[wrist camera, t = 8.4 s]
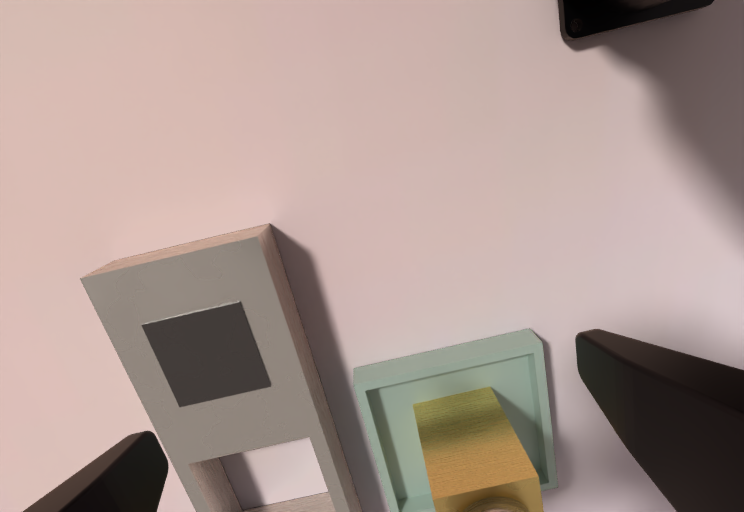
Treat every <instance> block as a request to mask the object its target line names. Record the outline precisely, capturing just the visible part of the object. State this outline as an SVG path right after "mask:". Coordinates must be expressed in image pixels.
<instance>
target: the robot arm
mask: <svg viewBox="0 0 744 512" xmlns="http://www.w3.org/2000/svg"><path fill="white" fill-rule="evenodd" d="M713 1H714V0H558V7H559V20H560V32H561V35H562V37H563V38H564V39H566V40H568V41H570V40H576V39H580V38H584V37H588V36H592V35H597V34H601V33H605V32H609V31H613V30H617V29H621V28H625V27H629V26H633V25H637V24H641V23H645V22H649V21H653V20H657V19H661V18H665V17H669V16H673V15H677V14H681V13H685V12H690V11H694V10H698V9H700V8H703V7H706V6H708V5H710V4H711V3H712V2H713ZM572 21H574V22H576V23H577V26H578V27H577V31H576V32H573V31H572V30H571V23H572ZM575 342H576V354H577V366H578V371H579V374H580V377H581V379H582V380H583V382H584V384H585V385H586V387H587V388H588V390H589V391H590V393H591V394H592V396H593V397H594V399H595V401H596V402H597V404H598V405H599V407H600V408H601V410H602V411H603V413H604V415H605V416H606V418H607V419H608V421H609V422H610V424H611V425H612V427H613V428H614V430H615V432H616V433H617V435H618V436H619V438H620V439H621V441H622V442H623V443H624V445H625V446H626V448H627V449H628V450H629V452H630V453H631V454H632V456H633V457H634V458H635V460H636V461H637V462H638V463H639V465H640V466H641V467H642V468H643V470H644V471H645V472H646V473H647V475H648V476H649V477H650V478H651V480H652V481H653V482H654V483H655V485H656V486H657V487H658V488H659V490H660V491H661V492H662V493H663V495H664V496H665V497H666V498H667V500H668V501H669V502H670V503H671V505H672V506H673V507H674V508H675V510H676V511H677V512H744V370H741V369H738V368H734V367H731V366H727V365H724V364H720V363H716V362H713V361H709V360H706V359H702V358H699V357H695V356H692V355H688V354H685V353H681V352H678V351H674V350H671V349H667V348H664V347H660V346H657V345H653V344H650V343H646V342H642V341H639V340H635V339H632V338H628V337H625V336H621V335H618V334H614V333H611V332H607V331H604V330H600V329H593V330H588V331H584V332H580V333H578V334H577V335H576V339H575ZM167 474H168V460H167V458H166V456H165V454H164V452H163V450H162V448H161V446H160V444H159V442H158V440H157V438H156V436H155V434H154V433H152V432H151V431H144V432H140V433H135V434H131V435H129V436H127V437H126V438H124V439H123V440H122V441H120V442H119V443H117V444H116V445H115V446H113V447H112V448H110V449H109V450H108V451H106V452H105V453H103V454H102V455H101V456H99V457H98V458H96V459H95V460H94V461H92V462H91V463H90V464H88V465H87V466H85V467H84V468H83V469H81V470H80V471H78V472H77V473H76V474H74V475H73V476H71V477H70V478H69V479H67V480H66V481H65V482H63V483H62V484H60V485H59V486H58V487H56V488H55V489H53V490H52V491H51V492H49V493H48V494H46V495H45V496H44V497H42V498H41V499H39V500H38V501H37V502H35V503H34V504H33V505H31V506H30V507H28V508H27V509H26V510H24V511H23V512H157V508H158V505H159V502H160V498H161V495H162V491H163V488H164V484H165V481H166V477H167Z"/></svg>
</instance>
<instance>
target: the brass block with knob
mask: <svg viewBox="0 0 744 512" xmlns="http://www.w3.org/2000/svg"><path fill="white" fill-rule="evenodd" d="M412 405H413V410H414V414H415V419H416V424H417V428H418V433H419V438H420V442H421V447H422V452H423V457H424V461H425V466H426V471H427V475H428V480H429V485H430V489H431V494H432V499H433V503H434V507H435V511H436V512H544V511H543V504H542V496H541V489H540V482H539V476H538V474H537V472H536V470H535V468H534V467H533V465H532V463H531V461H530V459H529V457H528V455H527V454H526V452H525V450H524V448H523V446H522V444H521V442H520V441H519V439H518V437H517V435H516V433H515V431H514V429H513V428H512V426H511V424H510V422H509V420H508V418H507V416H506V415H505V413H504V411H503V409H502V407H501V405H500V403H499V402H498V400H497V398H496V396H495V394H494V392H493V390H492V389H491V387H485V388H481V389H477V390H472V391H468V392H464V393H459V394H455V395H451V396H446V397H442V398H438V399H433V400H429V401H425V402H420V403H416V404H412Z"/></svg>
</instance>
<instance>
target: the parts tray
mask: <svg viewBox="0 0 744 512" xmlns="http://www.w3.org/2000/svg"><path fill="white" fill-rule="evenodd" d="M353 385H354V389H355V392H356V395H357V399H358V402H359V406H360V409H361V413H362V416H363V419H364V423H365V426H366V430H367V433H368V437H369V440H370V443H371V447H372V450H373V454H374V457H375V461H376V464H377V467H378V471H379V474H380V478H381V481H382V485H383V488H384V492H385V495H386V498H387V502H388V505H389V509H390V512H436V511H435V507H434V503H433V499H432V494H431V489H430V485H429V480H428V475H427V471H426V466H425V461H424V457H423V452H422V447H421V442H420V438H419V433H418V428H417V424H416V419H415V414H414V410H413V405H412V404H416V403H420V402H425V401H429V400H433V399H438V398H442V397H446V396H451V395H455V394H459V393H464V392H468V391H472V390H477V389H481V388H485V387H491V389H492V390H493V392H494V394H495V396H496V398H497V400H498V402H499V403H500V405H501V407H502V409H503V411H504V413H505V415H506V416H507V418H508V420H509V422H510V424H511V426H512V428H513V429H514V431H515V433H516V435H517V437H518V439H519V441H520V442H521V444H522V446H523V448H524V450H525V452H526V454H527V455H528V457H529V459H530V461H531V463H532V465H533V467H534V468H535V470H536V472H537V474H538V476H539V482H540V489H541V491H544V490H549V489H554V488H558V481H557V472H556V463H555V454H554V445H553V435H552V426H551V417H550V408H549V399H548V389H547V380H546V371H545V362H544V353H543V344H542V341H541V340H540V339H539V338H538V337H537V336H536V335H535V334H534V333H533V332H532V330H531V329H525V330H521V331H517V332H512V333H508V334H503V335H499V336H495V337H490V338H486V339H481V340H477V341H473V342H468V343H464V344H459V345H455V346H450V347H446V348H442V349H437V350H433V351H428V352H424V353H420V354H415V355H411V356H406V357H402V358H398V359H393V360H389V361H384V362H380V363H375V364H371V365H367V366H362V367H358V368H354V382H353Z"/></svg>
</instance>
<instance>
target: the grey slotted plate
mask: <svg viewBox="0 0 744 512" xmlns="http://www.w3.org/2000/svg"><path fill="white" fill-rule="evenodd" d="M80 280H81V282H82V284H83V286H84V288H85V290H86V292H87V294H88V296H89V298H90V300H91V302H92V304H93V306H94V308H95V310H96V312H97V314H98V316H99V318H100V320H101V322H102V324H103V326H104V328H105V330H106V332H107V334H108V336H109V338H110V340H111V342H112V344H113V346H114V348H115V350H116V352H117V354H118V356H119V358H120V360H121V362H122V364H123V366H124V368H125V370H126V372H127V374H128V376H129V378H130V380H131V382H132V384H133V386H134V388H135V390H136V392H137V394H138V396H139V398H140V400H141V402H142V404H143V406H144V408H145V410H146V412H147V414H148V416H149V418H150V420H151V422H152V424H153V426H154V428H155V430H156V432H157V434H158V436H159V438H160V440H161V442H162V444H163V446H164V448H165V450H166V452H167V454H168V456H169V458H170V460H171V462H172V464H173V466H174V468H175V470H176V472H177V474H178V476H179V478H180V480H181V482H182V484H183V486H184V488H185V490H186V492H187V494H188V496H189V498H190V500H191V502H192V504H193V506H194V508H195V510H196V512H362V509H361V506H360V503H359V500H358V497H357V493H356V490H355V487H354V484H353V481H352V478H351V475H350V472H349V469H348V465H347V462H346V459H345V456H344V453H343V450H342V447H341V444H340V441H339V437H338V434H337V431H336V428H335V425H334V422H333V419H332V416H331V413H330V409H329V406H328V403H327V400H326V397H325V394H324V391H323V388H322V384H321V381H320V378H319V375H318V372H317V369H316V366H315V363H314V360H313V356H312V353H311V350H310V347H309V344H308V341H307V338H306V335H305V332H304V328H303V325H302V322H301V319H300V316H299V313H298V310H297V307H296V304H295V300H294V297H293V294H292V291H291V288H290V285H289V282H288V279H287V276H286V272H285V269H284V266H283V263H282V260H281V257H280V254H279V251H278V248H277V244H276V241H275V238H274V235H273V232H272V229H271V226H270V223H269V224H265V225H261V226H257V227H253V228H248V229H244V230H240V231H236V232H232V233H228V234H223V235H219V236H215V237H211V238H207V239H202V240H198V241H194V242H190V243H186V244H182V245H177V246H173V247H169V248H165V249H161V250H156V251H152V252H148V253H144V254H140V255H136V256H131V257H127V258H123V259H119V260H115V261H112V262H110V263H109V264H107V265H105V266H103V267H101V268H99V269H97V270H95V271H93V272H91V273H89V274H87V275H86V276H84V277H82V278H80ZM307 437H310V440H311V443H312V446H313V448H314V451H315V454H316V457H317V460H318V463H319V466H320V468H321V471H322V474H323V477H324V480H325V483H326V486H327V488H328V491H329V492H326V493H321V494H317V495H312V496H308V497H303V498H298V499H294V500H289V501H285V502H280V503H275V504H271V505H266V506H262V507H257V508H253V509H248V510H243V511H242V509H241V507H240V504H239V502H238V500H237V498H236V495H235V493H234V491H233V489H232V487H231V484H230V482H229V480H228V478H227V475H226V473H225V471H224V469H223V467H222V464H221V462H220V460H219V458H218V457H222V456H226V455H231V454H235V453H240V452H244V451H249V450H253V449H258V448H262V447H267V446H271V445H276V444H280V443H285V442H289V441H294V440H298V439H303V438H307Z"/></svg>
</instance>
